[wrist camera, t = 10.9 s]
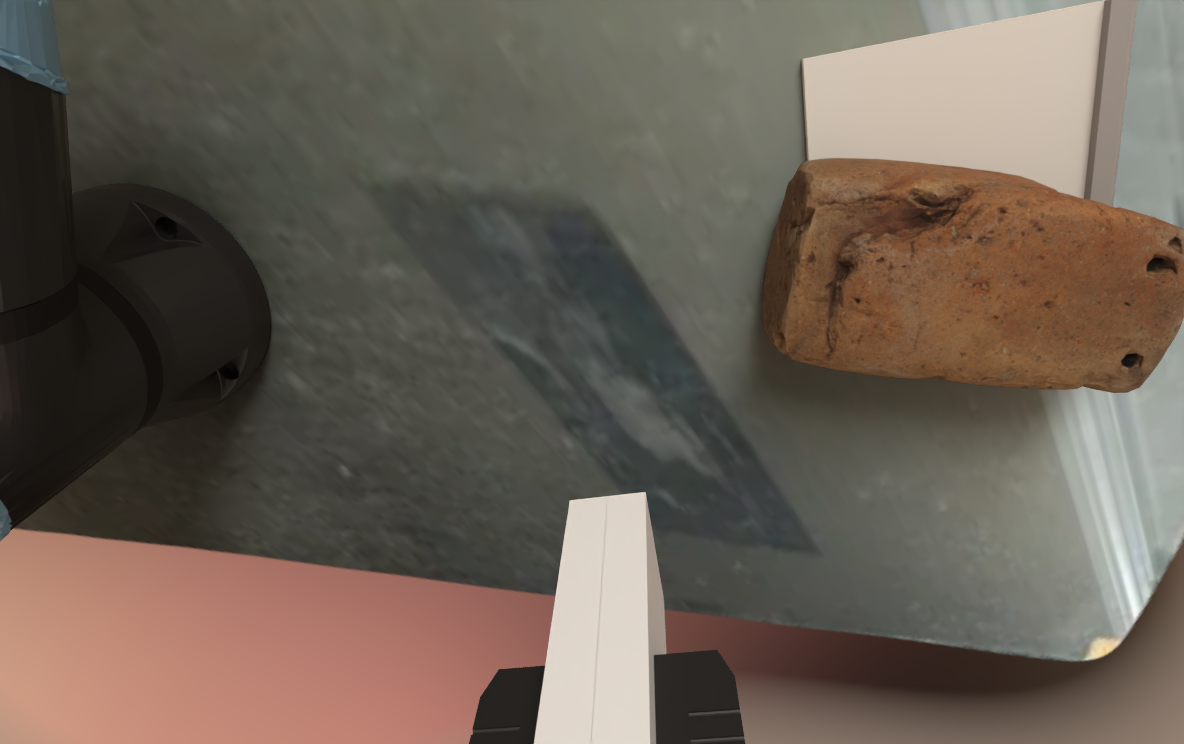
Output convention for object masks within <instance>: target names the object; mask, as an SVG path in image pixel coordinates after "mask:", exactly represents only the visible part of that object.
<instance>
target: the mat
mask: <svg viewBox="0 0 1184 744" xmlns="http://www.w3.org/2000/svg"><path fill="white" fill-rule="evenodd" d="M1136 9H1137V0H1103V1H1098V2H1092V3H1087V4H1082V5H1077V6H1072V7H1067V8H1062V9H1057V10H1051V11H1046V12H1041V13H1036V14H1031V15H1026V16H1021V17H1015V18H1010V19H1005V20H1000V21H995V22H990V23H985V24H980V25H974V26H969V27H964V28H959V29H954V30H949V31H944V32H939V33H933V34H928V35H923V36H918V37H913V38H908V39H903V40H897V41H892V42H887V43H882V44H877V45H872V46H867V47H862V48H856V49H851V50H846V51H841V52H836V53H831V54H826V55H821V56H815V57H810V58H805V59H801V65H802V82H803V100H804V118H805V135H806V153H807V161H810V160H816V159H826V158H863V159H884V160H896V161H908V162H919V163H928V164H936V165H945V166H956V167H964V168H970V169H978V170H986V171H994V172H1001V173H1005V174H1011V175H1017V176H1021V177H1024V178H1027V179H1031V180H1034V181H1036V182H1038V183H1041V184H1043V185H1045V186H1048V187H1051V188H1053V189H1056V190H1057V192H1060V193H1064V194H1069V195H1072V196H1076V197H1079V198H1083V199H1088V200H1093V201H1097V202H1100V203H1103V204H1106V205H1108V206H1111V207H1113V200H1114V191H1115V183H1116V175H1117V167H1118V158H1119V150H1120V142H1121V133H1122V125H1123V117H1124V108H1125V100H1126V92H1127V84H1128V75H1129V67H1130V59H1131V50H1132V42H1133V34H1134V25H1135V17H1136Z"/></svg>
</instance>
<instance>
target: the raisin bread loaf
mask: <svg viewBox="0 0 1184 744" xmlns="http://www.w3.org/2000/svg"><path fill="white" fill-rule="evenodd" d="M762 303H763V324H764V328H765V332H766V334H767V336H768V338H769V340H770V342H771V343H772V344H773V345H774V346H775V347H776V349H777V350H779V351H780V352H781V353H782V354H784V355H785V356H787V357H789V358H790V359H792V360H796V361H799V362H803V363H807V364H811V365H815V366H820V367H824V368H829V369H833V370H838V371H847V372H854V373H860V374H868V375H875V376H883V377H893V378H906V379H925V378H937V379H944V380H947V381H950V382H958V383H966V384H974V385H983V386H1001V387H1015V388H1031V389H1077V388H1079V387H1081V386H1084V387H1088V388H1092V389H1096V390H1101V391H1107V392H1112V393H1125V392H1129V391H1132V390H1134V389H1136V388H1139V387H1140V386H1141V385H1142V384H1143V383H1144V381H1145V380H1146V379H1147V378H1148V377H1149V375H1150V374H1151V373H1152V372H1153V370H1154V369H1155V368H1156V366H1157V365H1158V363H1159V362H1160V361H1161V359H1162V358H1163V356H1164V354H1165V352H1166V351H1167V349H1168V347H1169V346H1170V344H1171V343H1172V341H1173V340H1174V338H1175V336H1176V334H1177V333H1178V331H1179V329H1180V326H1181V323H1182V320H1183V318H1184V230H1183V229H1182V228H1180V227H1177V226H1175V225H1172V224H1170V223H1167V222H1164V221H1162V220H1159V219H1157V218H1154V217H1150V216H1147V215H1143V214H1140V213H1137V212H1134V211H1131V210H1127V209H1123V208H1114V207H1111V206H1108V205H1106V204H1103V203H1100V202H1097V201H1093V200H1088V199H1083V198H1079V197H1076V196H1072V195H1069V194H1064V193H1060V192H1057V190H1056V189H1053V188H1051V187H1048V186H1045V185H1043V184H1041V183H1038V182H1036V181H1034V180H1031V179H1027V178H1024V177H1021V176H1017V175H1011V174H1005V173H1001V172H994V171H986V170H978V169H970V168H964V167H956V166H945V165H936V164H928V163H919V162H908V161H896V160H884V159H863V158H826V159H816V160H810V161H805V162H803V163H802V164H801V165H800V166H799V168H798V170H797V172H796V173H795V175H794V177H793V179H792V180H791V181H790V182H789V183H788V186H787V190H786V194H785V198H784V201H783V204H782V207H781V210H780V215H779V222H778V225H777V227H776V229H775V231H774V234H773V238H772V242H771V246H770V250H769V254H768V262H767V266H766V271H765V281H764V291H763V300H762Z"/></svg>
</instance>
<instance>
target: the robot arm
mask: <svg viewBox="0 0 1184 744" xmlns="http://www.w3.org/2000/svg"><path fill="white" fill-rule="evenodd" d="M65 95H70V87H69V85H68V83H67V81H66V80H65V79H64V78H63V77H62V72H61V64H60V56H59V49H58V41H57V33H56V26H55V18H54V10H53V6H52V2H51V0H0V541H1V540H2V539H3V538H4V537H5V536H7V535H8V533H9V532H10V531H11V530H12V529H13V528H14V527H16V526H17V525H18V524H19V523H21V522H22V521H23V520H25V519H26V518H27V517H28V516H30V515H31V514H32V513H33V512H35V511H36V510H37V509H39V508H40V507H41V506H42V505H44V504H45V503H46V502H47V501H49V500H50V499H51V498H53V497H54V496H55V495H56V494H58V493H59V492H60V491H62V490H63V489H64V488H65V487H67V486H68V485H69V484H70V483H72V482H73V481H74V480H76V479H77V478H78V477H79V476H81V475H82V474H83V473H84V472H86V471H87V470H88V469H90V468H91V467H92V466H93V465H95V464H96V463H97V462H99V461H100V460H101V459H102V458H104V457H105V456H106V455H107V454H109V453H110V452H111V451H113V450H114V449H115V448H116V447H118V446H119V445H120V444H122V443H123V442H124V441H125V440H126V439H128V438H129V437H130V436H132V435H133V434H134V433H136V432H137V431H138V430H140V429H141V428H143V427H147V426H151V425H154V424H158V423H162V422H165V421H169V420H172V419H176V418H180V417H183V416H187V415H191V414H194V413H198V412H201V411H204V410H206V409H209V408H211V407H213V406H215V405H217V404H219V403H220V402H222V401H224V400H225V399H226V398H228V397H229V396H230V395H231V394H233V393H234V392H235V391H236V390H237V389H239V388H240V387H241V386H242V385H243V384H245V383H246V382H247V381H248V380H249V379H250V378H251V377H252V376H253V374H254V373H255V372H256V371H257V369H258V367H259V366H260V364H261V362H262V360H263V358H264V356H265V353H266V350H267V347H268V342H269V336H270V313H269V306H268V301H267V297H266V293H265V290H264V287H263V285H262V282H261V280H260V277H259V275H258V273H257V271H256V269H255V267H254V265H253V264H252V262H251V260H250V259H249V257H248V256H247V254H246V253H245V251H244V250H243V248H242V247H241V246H240V245H239V243H238V242H237V241H236V240H235V239H234V237H233V236H232V235H231V234H230V233H229V232H228V231H227V230H226V229H225V228H224V227H223V226H222V225H221V224H219V223H218V222H217V221H216V220H215V219H214V218H212V217H211V216H210V215H209V214H207V213H206V212H204V211H203V210H201V209H200V208H198V207H197V206H195V205H194V204H192V203H190V202H188V201H186V200H185V199H182V198H180V197H178V196H176V195H174V194H171V193H169V192H166V191H163V190H160V189H157V188H152V187H148V186H143V185H136V184H111V185H105V186H100V187H96V188H92V189H88V190H85V191H81V192H77V193H73V194H72V187H71V172H70V157H69V142H68V127H67V112H66V97H65ZM665 637H666V636H665V615H664V598H663V592H662V586H661V580H660V575H659V569H658V563H657V557H656V551H655V545H654V539H653V533H652V527H651V522H650V516H649V510H648V504H647V498H646V492H642V493H633V494H624V495H615V496H606V497H597V498H588V499H579V500H570V503H569V510H568V517H567V523H566V530H565V537H564V543H563V550H562V557H561V564H560V570H559V577H558V584H557V591H556V597H555V605H554V611H553V618H552V625H551V631H550V638H549V645H548V651H547V658H546V665H545V666H535V667H523V668H511V669H499V670H498V672H497V673H496V675H495V676H494V678H493V679H492V681H491V682H490V684H489V685H488V687H487V688H486V690H485V691H484V692H483V694H482V695H481V697H480V701H479V705H478V709H477V713H476V717H475V721H474V725H473V735H471V738H470V742H469V744H745V740H744V733H743V727H742V720H741V714H740V707H739V701H738V695H737V688H736V681H735V676H734V674H733V673H732V671H731V670H730V668H729V667H728V665H727V664H726V662H725V661H724V659H723V658H722V657H721V655H720V654H719V652H718V651H717V650H710V651H698V652H685V653H673V654H666V638H665Z"/></svg>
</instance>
